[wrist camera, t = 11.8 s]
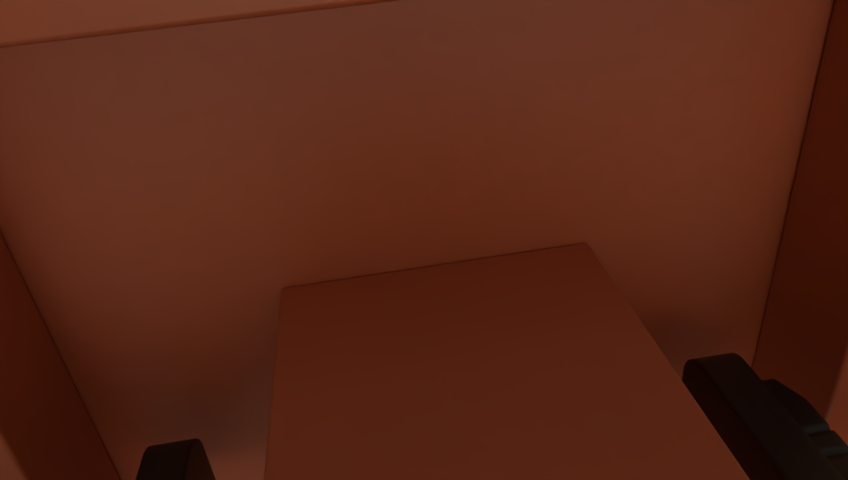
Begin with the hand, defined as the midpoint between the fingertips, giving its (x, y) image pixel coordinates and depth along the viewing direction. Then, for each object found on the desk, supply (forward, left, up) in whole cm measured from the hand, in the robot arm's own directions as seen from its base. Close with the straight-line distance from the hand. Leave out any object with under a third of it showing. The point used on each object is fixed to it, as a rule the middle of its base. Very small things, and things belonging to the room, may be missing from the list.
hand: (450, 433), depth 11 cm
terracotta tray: (0, 0, -2) cm, 2 cm away
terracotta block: (0, 0, -1) cm, 1 cm away
